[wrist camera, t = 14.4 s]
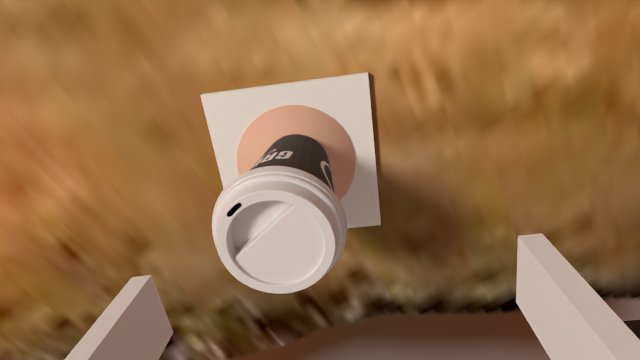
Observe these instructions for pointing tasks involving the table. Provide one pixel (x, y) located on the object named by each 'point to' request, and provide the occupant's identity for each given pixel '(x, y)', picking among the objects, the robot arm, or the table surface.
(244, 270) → the coffee cup
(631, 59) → the table surface
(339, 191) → the coaster mat
